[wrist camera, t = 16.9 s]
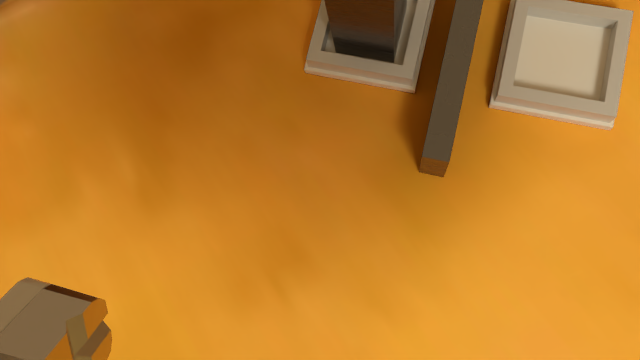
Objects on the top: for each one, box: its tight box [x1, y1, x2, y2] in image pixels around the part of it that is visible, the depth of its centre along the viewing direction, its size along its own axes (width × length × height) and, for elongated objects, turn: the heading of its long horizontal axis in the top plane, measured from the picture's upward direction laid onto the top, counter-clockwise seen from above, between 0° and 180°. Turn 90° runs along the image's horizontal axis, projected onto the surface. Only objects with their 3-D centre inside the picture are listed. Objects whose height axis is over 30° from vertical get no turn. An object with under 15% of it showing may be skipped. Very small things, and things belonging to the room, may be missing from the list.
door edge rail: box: [419, 0, 483, 177], centre depth 38 cm, size 2×18×4 cm, turn 167°
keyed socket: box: [304, 0, 436, 93], centre depth 40 cm, size 8×8×2 cm
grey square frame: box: [489, 0, 633, 130], centre depth 38 cm, size 8×8×2 cm
